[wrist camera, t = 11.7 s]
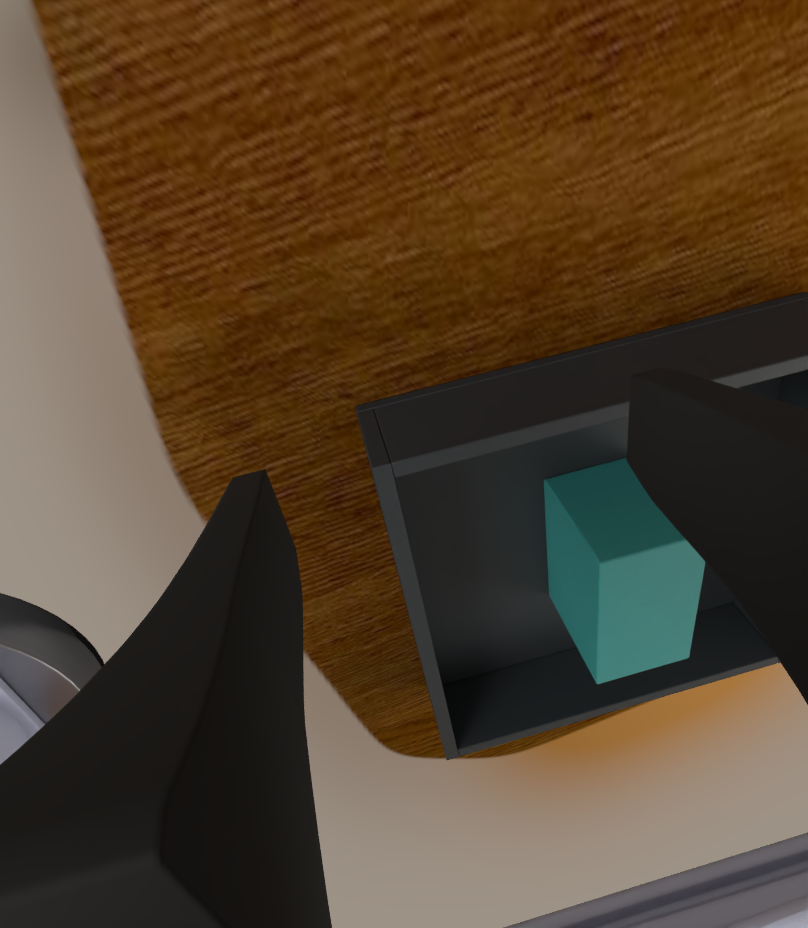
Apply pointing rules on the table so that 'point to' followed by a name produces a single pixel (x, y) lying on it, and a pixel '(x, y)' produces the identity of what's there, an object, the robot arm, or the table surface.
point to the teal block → (619, 572)
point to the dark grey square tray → (524, 525)
